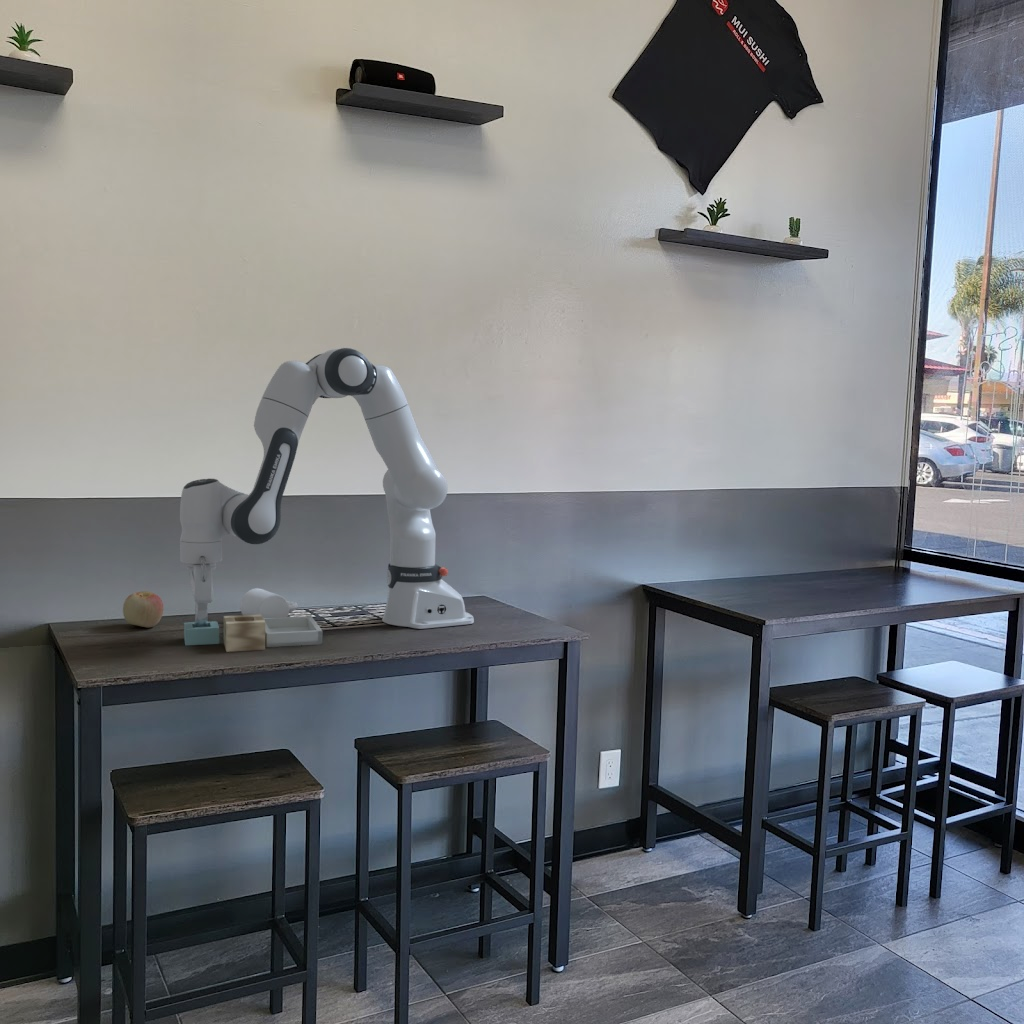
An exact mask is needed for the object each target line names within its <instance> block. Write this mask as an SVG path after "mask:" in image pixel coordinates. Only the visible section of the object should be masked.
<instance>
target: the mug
mask: <svg viewBox="0 0 1024 1024" xmlns="http://www.w3.org/2000/svg"><path fill="white" fill-rule="evenodd" d="M239 607H240V611H241V612H240V613H241V614H242V615H262V617H263V618H279V617H289V613H290V612H293V611H296V610H298V608H299V605H298V603H297V602H295V601H289V600H288V601H287V599H286V598H285V597H284V596H282V595H280V594H277V593H273V592H271V591H268V590H266V589H263V588H258V587H256V588H252V589H250V590H248V591H247V592H245V594H244V595H243V596H242V597H241V600H240V606H239Z"/></svg>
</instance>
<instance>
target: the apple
mask: <svg viewBox="0 0 1024 1024" xmlns="http://www.w3.org/2000/svg"><path fill="white" fill-rule="evenodd" d="M164 609H165V607H164V602H163V600H162V598H161V597H160V596H159V595H157V594H156V593H153V592H151V591H145V590H144V591H138V592H133V593H130V595H128V596H127V597H126V599H125V600H124V602H123V606H122V613H123V618H124V620H125V621H126V622H127V623H128V624H130V625H134V626H138V627H143V628H153V627H156V625H158V624H159V622H160V620H161V619H162V618H163V614H164Z"/></svg>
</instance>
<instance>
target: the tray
mask: <svg viewBox="0 0 1024 1024" xmlns="http://www.w3.org/2000/svg"><path fill="white" fill-rule="evenodd" d="M263 619H264V620H265V648H276V647H280V648H281V647H282V648H283V647H299V646H301V645H302V646H313V645H314V646H317V645H320V646H321V645H323V630H322V628H321V627H320V626H319V624H318V623H317V622H316V620H315V619H314V618H313V616H311V615H310V616H309V615H303V616H288V617H279V618H263Z"/></svg>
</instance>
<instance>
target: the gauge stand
mask: <svg viewBox="0 0 1024 1024" xmlns="http://www.w3.org/2000/svg"><path fill="white" fill-rule="evenodd" d="M183 634H184V635H183V639H184V644H185V645H184V646H199V645H201V646H202V645H219V644H220V626H219V623H218V621H215V620H214V621H208V627H195V621H191V622H190V621H189V622H184V623H183Z"/></svg>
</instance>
